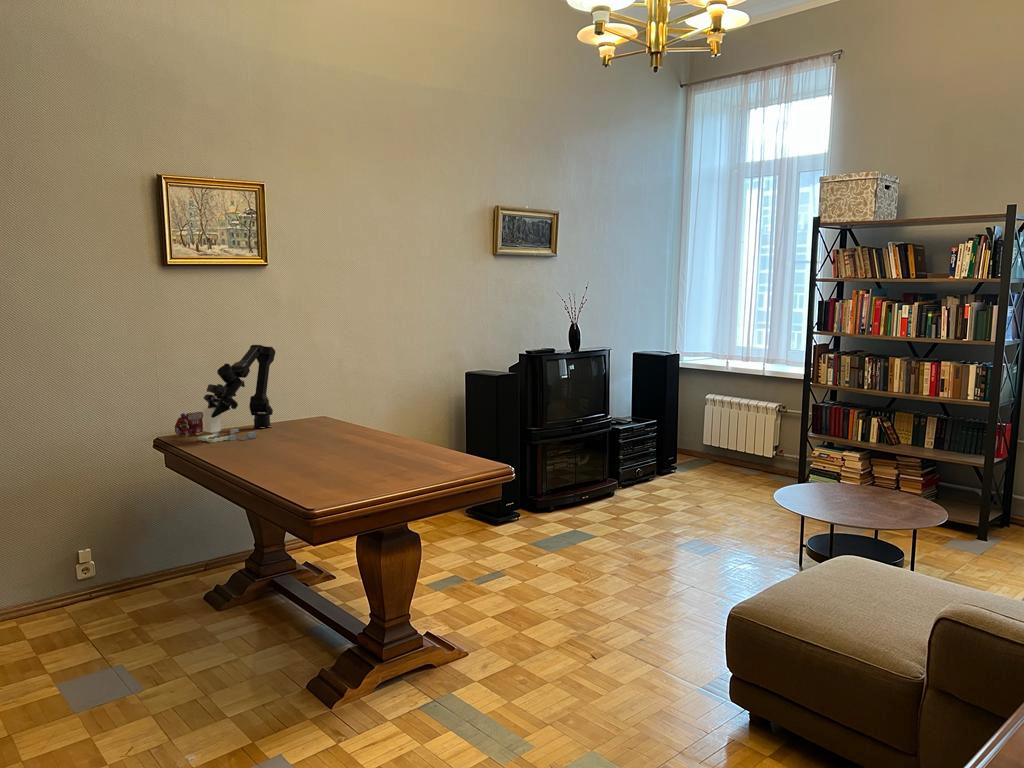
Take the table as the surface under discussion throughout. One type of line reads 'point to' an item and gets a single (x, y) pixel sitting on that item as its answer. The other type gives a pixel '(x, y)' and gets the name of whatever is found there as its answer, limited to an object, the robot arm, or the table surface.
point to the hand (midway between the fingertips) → (209, 416)
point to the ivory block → (211, 421)
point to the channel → (233, 437)
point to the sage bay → (205, 438)
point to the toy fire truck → (189, 423)
